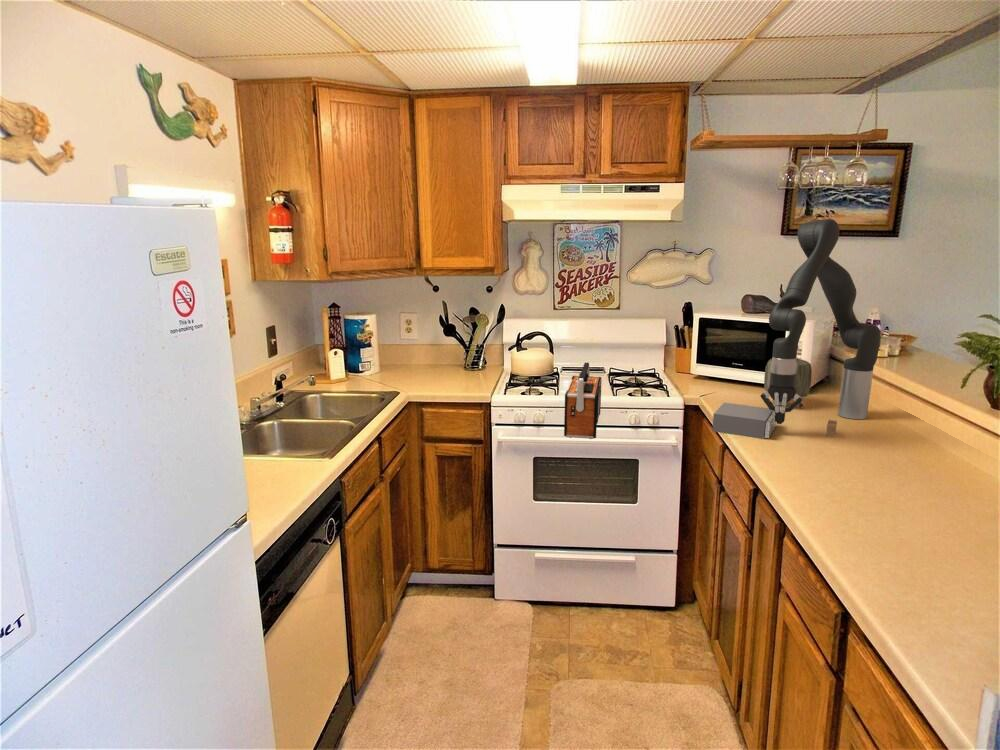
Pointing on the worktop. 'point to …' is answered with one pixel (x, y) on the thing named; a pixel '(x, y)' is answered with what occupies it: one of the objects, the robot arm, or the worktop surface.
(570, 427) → the radio cassette player
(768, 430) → the tray
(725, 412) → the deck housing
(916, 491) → the worktop surface
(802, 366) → the tabletop clock
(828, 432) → the brown rectangular block
